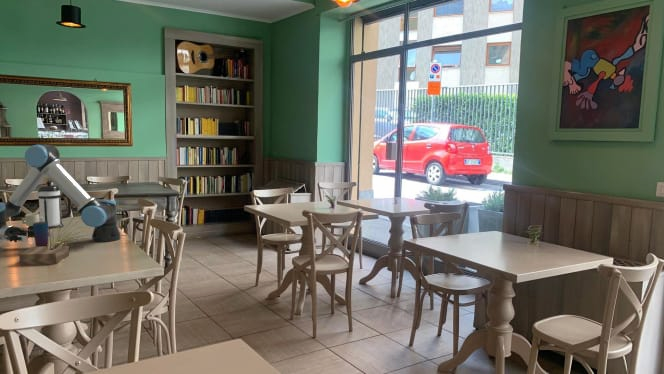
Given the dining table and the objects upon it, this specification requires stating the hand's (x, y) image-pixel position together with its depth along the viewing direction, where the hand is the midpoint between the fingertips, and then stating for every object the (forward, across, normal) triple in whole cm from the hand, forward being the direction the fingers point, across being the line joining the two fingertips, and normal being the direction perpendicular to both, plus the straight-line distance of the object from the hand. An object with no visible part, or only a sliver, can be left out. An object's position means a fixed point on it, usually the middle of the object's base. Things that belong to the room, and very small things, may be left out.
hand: (39, 236), depth 262 cm
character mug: (-38, -25, -8) cm, 46 cm away
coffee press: (-52, -50, -8) cm, 73 cm away
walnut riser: (+18, +12, -8) cm, 23 cm away
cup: (+1, 0, -8) cm, 8 cm away
